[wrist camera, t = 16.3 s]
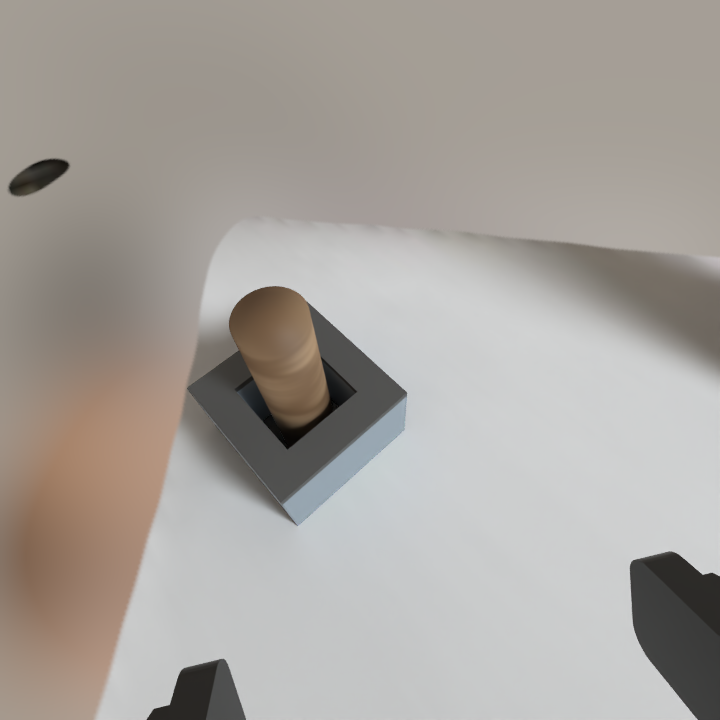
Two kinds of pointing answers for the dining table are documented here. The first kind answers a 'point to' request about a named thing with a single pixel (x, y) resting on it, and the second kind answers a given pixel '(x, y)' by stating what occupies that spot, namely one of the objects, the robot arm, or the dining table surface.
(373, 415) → the collar
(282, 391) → the walnut peg
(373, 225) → the dining table surface
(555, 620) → the dining table surface
